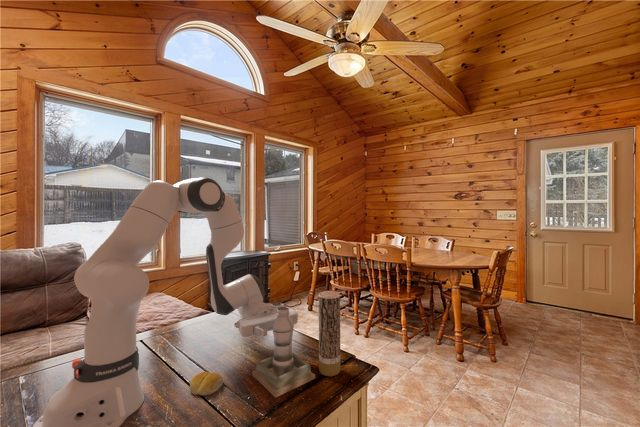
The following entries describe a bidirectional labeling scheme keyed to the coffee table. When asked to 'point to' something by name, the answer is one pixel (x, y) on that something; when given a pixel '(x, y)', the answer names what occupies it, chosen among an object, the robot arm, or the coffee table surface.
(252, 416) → the coffee table surface
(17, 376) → the coffee table surface
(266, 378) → the bottle stand
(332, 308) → the paper tube
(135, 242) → the robot arm
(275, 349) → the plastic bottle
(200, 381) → the bread roll
